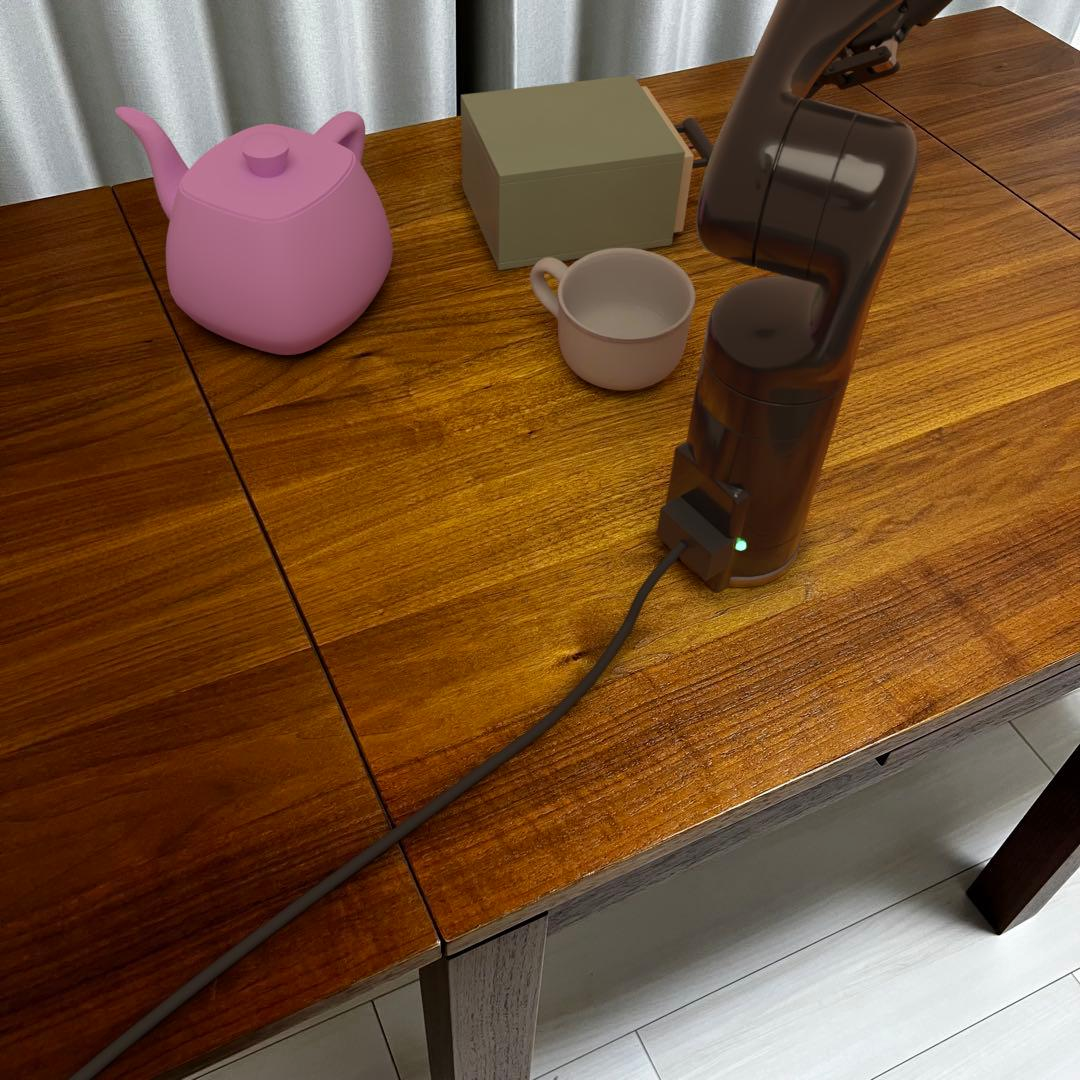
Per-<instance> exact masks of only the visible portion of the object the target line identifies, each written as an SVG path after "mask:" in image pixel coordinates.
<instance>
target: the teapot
mask: <svg viewBox="0 0 1080 1080" xmlns="http://www.w3.org/2000/svg"><path fill="white" fill-rule="evenodd" d="M115 114H116V115H117V117H118V118H119V119H120V120H121V121H122V122H123V123H124V124H125V125H126V126H127V127H129V129H130V130H132V132H133V133H134V134H135V135H136V137H137V139H138V140H139V141H140V142H141V145H142V147H143V149H144V151H145V153H146V156H147V160H148V162H149V165H150V170H151V173H152V177H153V183H154V187H155V190H156V194H157V197H158V200H159V203H160V206H161V208H162V210H163V212H164V213H165V215H166V218H167V219H168V220H169V223H168V227H167V234H166V240H165V241H166V243H165V267H166V277H167V283H168V287H169V293H170V295H171V297H172V298H173V300H174V302H175V304H176V305H177V307H178V308H179V309H181V310H182V311H183V312H184V314H186V315H187V316H188V317H189V318H190V319H191V320H192V321H194V322H195V323H196V324H198V325H199V326H201V327H202V328H205V330H208V331H210V332H212V333H214V334H216V335H219V336H221V337H222V338H225V339H228V340H230V341H232V342H235V343H237V344H240V345H243V346H246V347H249V348H252V349H255V350H258V351H262V352H266V353H270V354H275V355H279V356H281V355H283V356H289V355H290V356H293V355H298V354H303V353H307V352H309V351H312V350H314V349H316V348H318V347H320V346H322V345H323V344H325V343H327V342H329V341H331V340H332V339H333V338H335V337H336V336H338V335H340V334H341V333H343V332H344V331H345V330H346V329H348V328H349V327H350V326H351V325H352V324H354V323H355V322H356V321H357V320H358V319H359V318H360V317H361V316H362V315H363V313H365V312H366V310H367V309H368V307H369V306H370V304H371V303H372V302H373V300H374V299H375V297H376V296H377V294H378V292H379V291H380V289H381V288H382V286H383V284H384V282H385V281H386V278H387V276H388V274H389V272H390V269H391V265H392V261H393V257H394V256H393V255H394V246H393V238H392V232H391V228H390V225H389V220H388V218H387V217H388V216H387V214H386V211H385V209H384V206H383V204H382V200H381V198H380V196H379V194H378V192H377V190H376V188H375V186H374V184H373V182H372V180H371V179H370V177H369V175H368V174H367V172H366V170H365V168H364V167H363V164H362V159H363V154H364V150H365V142H366V124H365V121H364V118H363V117H362V115H360V113H358V112H355V111H350V110H346V111H342V112H340V113H337V114H336V115H334V116H332V117H331V118H330V119H329V120H327V121H326V122H325V123H324V124H323V125H322V126H320V128H319V129H318V130H317V131H316V132H315V133H310V132H308V131H304V130H300V129H297V128H292V127H290V126H285V125H281V124H273V123H263V124H259V125H258V124H257V125H254V126H250V127H248V128H245V129H242V130H241V131H239V132H237V133H234V134H232V135H230V136H229V137H226V138H225V139H224V140H222V141H220V142H218V143H217V144H215V145H214V146H212V147H211V148H210V149H208V150H207V151H206V152H205V153H204V154H203V155H201V156H200V157H199V158H198V159H197V160H196V161H195V162H194V163H193V164H192V165H191V166H190V167H188V166H187V164H186V163H185V161H184V160H183V158H182V156H181V155H180V153H179V152H178V150H177V148H176V147H175V145H174V143H173V142H172V140H171V139H170V137H169V136H168V134H167V133H166V131H165V130H164V129H163V128H162V126H160V124H159V123H158V122H157V121H156V120H155V119H153V117H151V116H150V115H148V114H146V113H145V112H142V111H140V110H139V109H135V108H132V107H129V106H118V107H116V108H115Z"/></svg>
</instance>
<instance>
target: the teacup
mask: <svg viewBox="0 0 1080 1080" xmlns="http://www.w3.org/2000/svg"><path fill="white" fill-rule="evenodd" d="M545 273H547V274H549V275H551V276H552V277H554V278H555V280H556V281H557V283H558V284H557V285H558V286H557V293H555V292H554V291H553V290H552V289H551V287H550V286H549V284H548V282H547V280H546V278H545ZM529 285H530V288H531V289H532V292H533V294H534V296H535V297H536V299H537V300H538V302H539V303H541V304H542V306H544V308H545V309H546V310H547V311H548V312H550V313H551V314H552V315H553V316H554V318H556V320H557V337H558V344H559V349H560V352H561V356H562V357H563V359H564V361H565V363H566V364H567V366H568V367H569V368H570V369H571V370H572V372H574V373H575V374H576V375H577V376H578V377H580V378H581V379H582V380H584V381H585V382H588V383H589V384H591V385H594V386H596V387H598V388H601V389H607V390H610V391H611V390H612V391H635V390H636V391H637V390H641V389H645V388H647V387H650V386H653V385H656V384H658V383H659V382H661V381H662V380H664V379H666V378H667V377H668V376H670V374H671V373H672V372H673V371H674V369H676V368H677V366H678V364H679V363H680V361H681V359H682V357H683V355H684V351H685V349H686V344H687V341H688V336H689V331H690V326H691V320H692V314H693V311H694V309H695V306H696V290H695V287H694V284H693V282H692V280H691V278H690V277H689V275H688V274H687V272H686V271H684V269H682V267H681V266H680V265H678V264H677V263H676V262H674V261H673V260H671V259H669V258H667V257H666V256H663V255H662V254H659V253H656V252H653V251H648V250H646V249H634V248H611V249H605V250H601V251H597V252H594V253H591V254H588V255H586V256H584V257H583V258H580V259H577V260H576V261H574V262H573V263H572V264H571V265H569V266H568V265H566V263H564V261H560V260H558V259H556V258H552V257H547V258H543V259H541V260H539V261H538V262H537V263H536V264H535V265H533V267H532V268H531V271H530V274H529Z"/></svg>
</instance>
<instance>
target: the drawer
mask: <svg viewBox="0 0 1080 1080" xmlns="http://www.w3.org/2000/svg"><path fill="white" fill-rule="evenodd" d="M641 87H642V89H643V90H644V92H645V93H646V95H647V96H648V98H649V99H650V101H651V102H652V104H653V105H654V107H655V108H656V110H657V111H658V112H659V114H660V115H661V117H662V118H663V120H664V121H665V123H666V124H667V126H668V127H669V129H670V130H671V132H672V133H673V135H674V136H675V138H676V139H677V141H678V142H679V144H680V145H681V147H682V148H683V150H684V151H685V156H684V162H683V169H682V176H681V183H680V190H679V197H678V204H677V211H676V218H675V225H674V232H673V234H674V233H681V232H682V233H683V232H684V227H685V220H686V214H687V213H686V212H687V207H688V206H687V205H688V198H689V194H690V193H689V192H690V186H691V179H692V173H693V169H700V168H707V165H708V162H709V159H710V156H711V154H712V151H713V148H714V144H713V143H712V141H711V140H710V139H709V137H708V136H707V134H706V132H704V130H703V128H702V127H701V126H700V124H699V123H698V122H697V120H696V119H695V118H694V117H688V118H686V119H685V120H683V121H682V123H681V124H673V123H672V121H671V119H669V117H668V115H667V114H666V112H665V111H664V110H663V108H662V107H661V105H660V104H659V102H658V100H657V99H656V98H655V96H654V95H653V94H652V92H651V91H650V89H649V87H648V86H641ZM680 134H684V135H685V136H686V138H687V139H688V141H689V142H690V144H691V145H692V147H693V148H694V149H695V151H696V153H697V154H698V155H699V157H700V158H696V159H695V155H694V154H693V152H692V151H691V149H690V147H689V146H688V145H687V143H686V142H685V141H684V139H683V137H682V136H681V135H680Z"/></svg>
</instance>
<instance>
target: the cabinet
mask: <svg viewBox="0 0 1080 1080" xmlns="http://www.w3.org/2000/svg"><path fill="white" fill-rule="evenodd" d="M642 87H643V86H642V85H640V83H639V81H638V80H637V78H636V77H635V75H634V74H633V75H632V74H631V75H624V76H623V75H622V76H613V77H605V78H604V77H603V78H598V79H597V78H596V79H587V80H579V81H571V82H570V81H569V82H562V83H552V84H544V85H536V86H534V85H533V86H527V87H526V86H525V87H517V88H508V89H500V90H492V91H483V92H482V91H481V92H475V93H464V94H461V95H460V120H461V121H460V126H461V127H460V128H461V129H460V130H461V132H460V133H461V134H460V135H461V181H462V182H461V188H462V190H463V192H464V195H465V197H466V199H467V202H468V204H469V206H470V208H471V211H472V213H473V216H474V217H475V220H476V222H477V224H478V226H479V229H480V231H481V233H482V236H483V238H484V240H485V242H486V245H487V247H488V250H489V251H490V254H491V256H492V258H493V261H494V263H495V265H496V267H497V270H498V271H503V270H504V271H505V270H511V269H518V268H524V267H532V266H534V265H535V264H536V263H537V262H538V261H539V260H541V259H543V258H547V257H552V258H556V259H558V260H560V261H561V262H566V261H572V260H579V259H581V258H583V257H584V256H586V255H588V254H591V253H594V252H597V251H601V250H605V249H611V248H634V249H641V250H647V249H654V248H661V247H669V246H672V244H673V238H674V233H673V232H674V225H675V218H676V211H677V204H678V197H679V190H680V183H681V176H682V169H683V162H684V156H685V151H684V150H683V148H682V147H681V145H680V144H679V142H678V141H677V139H676V138H675V136H674V135H673V133H672V132H671V130H670V129H669V127H668V126H667V124H666V123H665V121H664V120H663V118H662V117H661V115H660V114H659V112H658V111H657V110H656V108H655V107H654V105H653V104H652V102H651V101H650V99H649V98H648V96H647V95H646V93H645V92H644V90H643V89H642Z"/></svg>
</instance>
